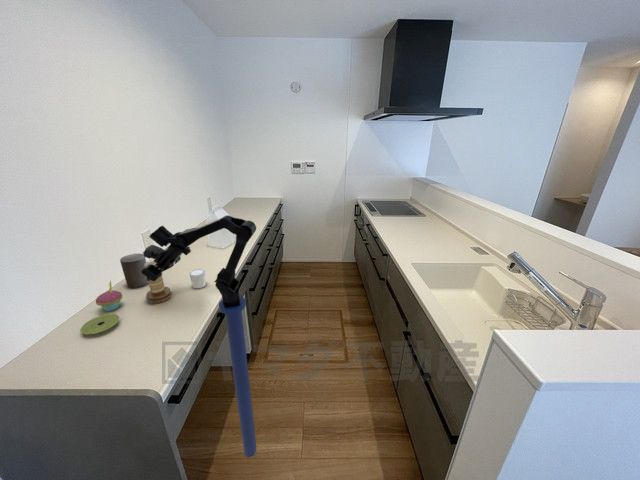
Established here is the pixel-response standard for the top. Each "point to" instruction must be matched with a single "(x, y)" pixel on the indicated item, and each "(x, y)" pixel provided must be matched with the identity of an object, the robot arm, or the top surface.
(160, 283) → the chip column
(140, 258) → the pillar candle
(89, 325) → the green disc
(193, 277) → the white short cylinder
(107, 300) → the cupcake
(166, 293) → the chip pile
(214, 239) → the milk
